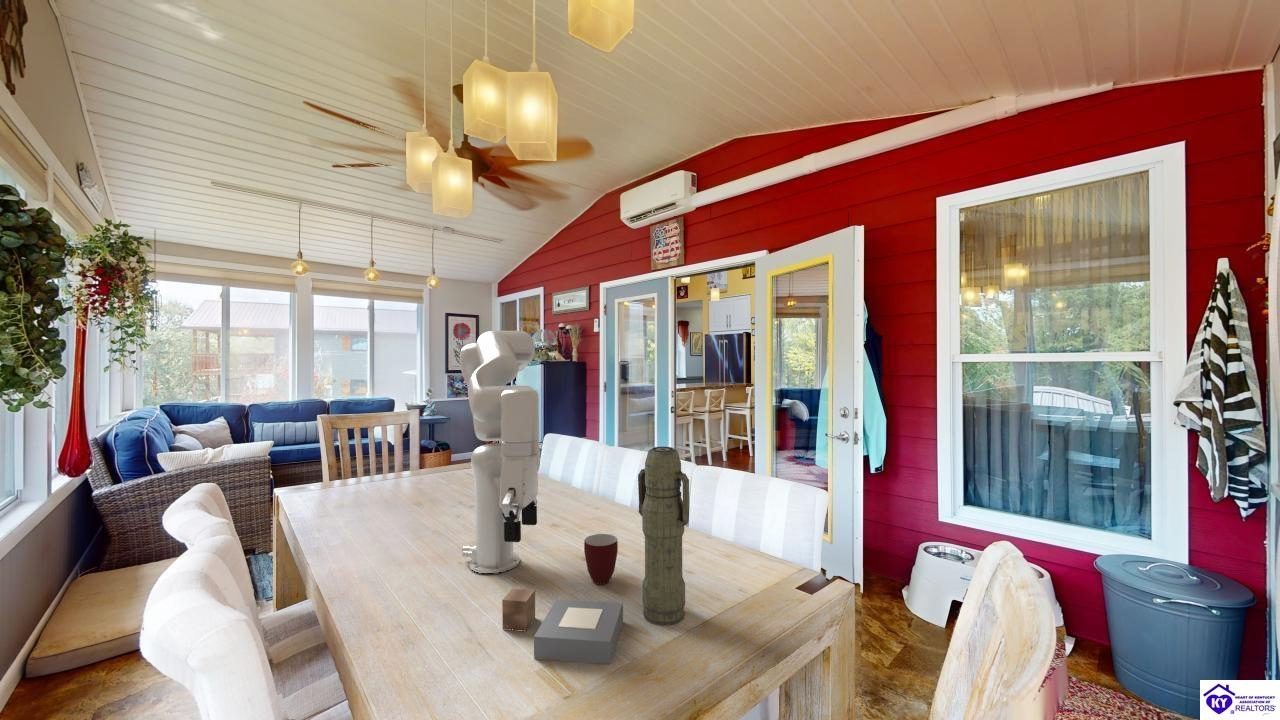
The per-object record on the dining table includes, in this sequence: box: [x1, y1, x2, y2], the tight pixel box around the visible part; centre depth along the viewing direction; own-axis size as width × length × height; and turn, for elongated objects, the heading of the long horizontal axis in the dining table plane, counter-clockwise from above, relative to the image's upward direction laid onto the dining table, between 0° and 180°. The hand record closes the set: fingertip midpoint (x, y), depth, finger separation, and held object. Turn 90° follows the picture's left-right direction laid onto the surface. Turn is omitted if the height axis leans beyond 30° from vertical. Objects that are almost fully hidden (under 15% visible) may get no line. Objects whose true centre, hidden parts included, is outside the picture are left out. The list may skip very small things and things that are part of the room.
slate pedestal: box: [533, 598, 624, 665], centre depth 96 cm, size 14×14×4 cm
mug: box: [583, 533, 619, 585], centre depth 122 cm, size 10×8×10 cm
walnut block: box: [501, 587, 536, 632], centre depth 102 cm, size 5×5×6 cm
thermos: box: [637, 446, 690, 626], centre depth 105 cm, size 9×12×35 cm
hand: (521, 532), depth 102 cm, fingers open, 9 cm apart
